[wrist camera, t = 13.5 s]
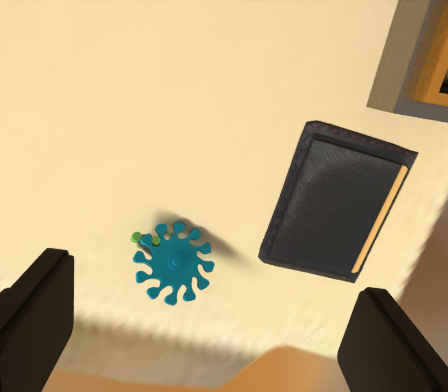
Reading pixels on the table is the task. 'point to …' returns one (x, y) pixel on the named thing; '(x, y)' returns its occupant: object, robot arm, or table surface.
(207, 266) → the gear
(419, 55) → the box
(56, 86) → the table surface
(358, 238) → the dark grey flat slab
